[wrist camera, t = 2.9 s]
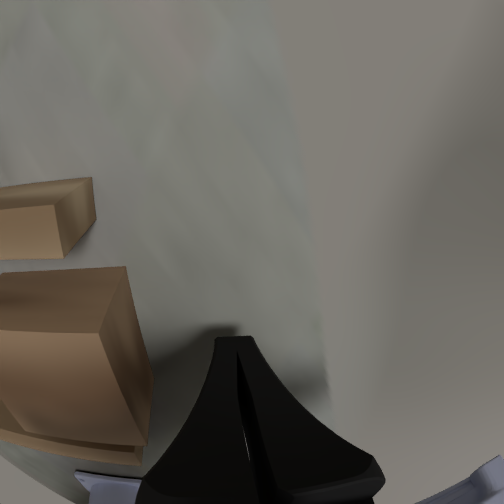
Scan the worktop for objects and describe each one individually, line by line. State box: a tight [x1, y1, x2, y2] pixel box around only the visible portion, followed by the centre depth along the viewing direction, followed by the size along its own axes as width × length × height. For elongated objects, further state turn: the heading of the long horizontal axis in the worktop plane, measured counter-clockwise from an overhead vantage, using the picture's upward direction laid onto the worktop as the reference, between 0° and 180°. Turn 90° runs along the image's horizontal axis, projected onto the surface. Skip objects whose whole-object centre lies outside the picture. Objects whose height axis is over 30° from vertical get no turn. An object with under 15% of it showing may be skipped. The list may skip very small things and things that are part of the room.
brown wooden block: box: [0, 266, 154, 446], centre depth 10 cm, size 6×6×4 cm
